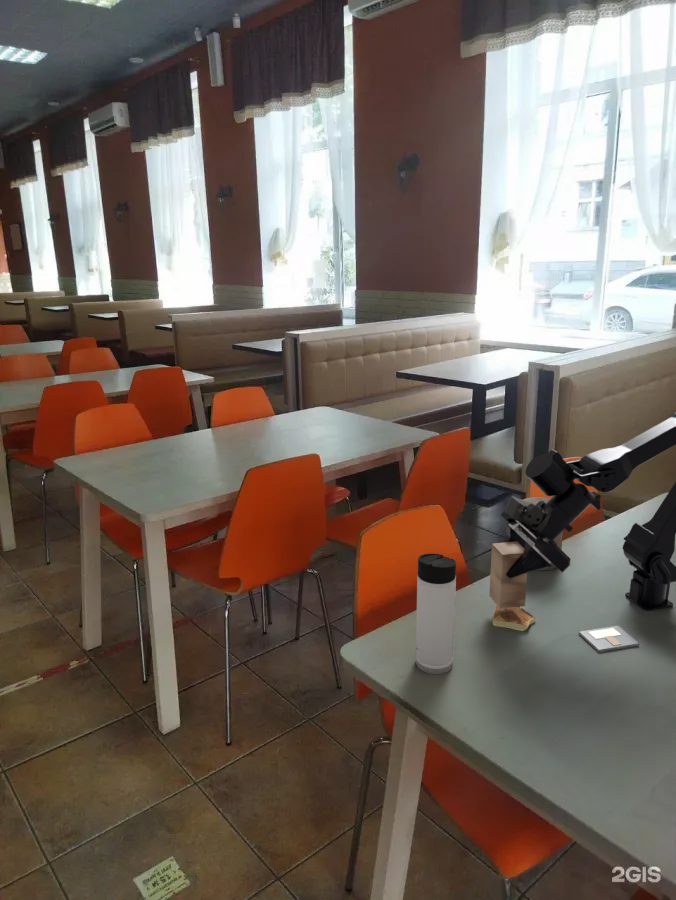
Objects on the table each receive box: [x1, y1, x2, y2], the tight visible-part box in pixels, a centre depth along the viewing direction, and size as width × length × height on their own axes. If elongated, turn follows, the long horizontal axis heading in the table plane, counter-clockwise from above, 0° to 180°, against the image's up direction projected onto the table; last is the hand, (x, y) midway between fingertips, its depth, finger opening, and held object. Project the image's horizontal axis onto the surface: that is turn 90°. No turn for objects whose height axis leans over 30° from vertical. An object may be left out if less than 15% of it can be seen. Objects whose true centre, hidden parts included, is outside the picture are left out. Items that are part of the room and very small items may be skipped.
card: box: [578, 625, 640, 653], centre depth 119 cm, size 8×6×1 cm
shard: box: [492, 605, 537, 632], centre depth 128 cm, size 11×8×2 cm
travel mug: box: [415, 553, 457, 675], centre depth 110 cm, size 6×7×20 cm
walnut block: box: [488, 541, 528, 609], centre depth 125 cm, size 5×5×11 cm
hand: (501, 570), depth 124 cm, fingers closed on walnut block, 5 cm apart
